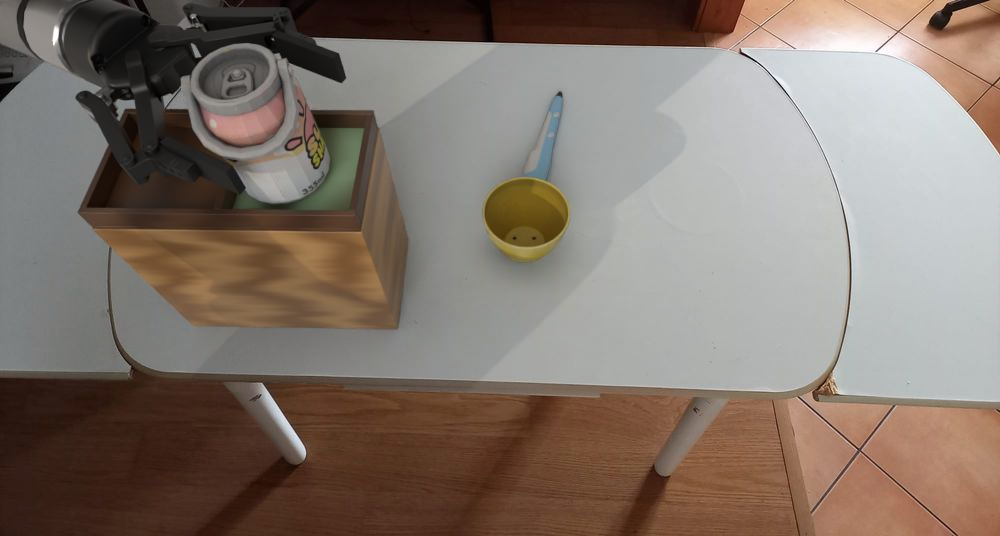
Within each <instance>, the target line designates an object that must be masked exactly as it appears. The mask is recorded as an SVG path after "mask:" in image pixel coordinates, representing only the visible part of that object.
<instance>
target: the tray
mask: <svg viewBox="0 0 1000 536" xmlns="http://www.w3.org/2000/svg"><path fill="white" fill-rule="evenodd" d="M310 110H311V113H312V115H313V117H314V120H315V122H316V124H317V127H318V129H319V131H320V133H321V136H322V138H323V140H324V143H325V145H326V147H327V150H328V153H329V156H330V164H329V172H328V174H327V176H326V178H325V180H324V182H323V183H322V184H321V185H320V186H319V187H318V188H317V189H316V190H315V191H314V192H313V193H312V194H311V195H309V196H307V197H306V198H304V199H302V200H299V201H296V202H293V203H290V204H277V205H273V204H268V203H263V202H260V201H258V200H257V199H255V198H253V197H252V196H250V195H248V193H247V192H246V190H244V191H243V192H242V193H241V194H240V195H239V194H237V193H235V192H233V191H231V190H228V189H226V188H224V187H222V186H220V185H218V184H216V183H213V182H211V181H209V180H207V179H205V178H203V177H201V176H200V177H199V178H198V179H197V180H196V181H195V182H187V181H185V180H182V179H180V178H178V177H176V176H174V175H173V176H171V177H168V178H165V177H163V176H162V175H161V174H160V173H159V171H155V172H153V173H152V174H150V178H149V180H148V181H147V182H146V183H144V184H140V185H138V184H136V183H135V182H134V181H133V180H132V179H131V177H130V176H129V175H128V174H127V173H126V171H125V170H124V169H123V168H122V167H121V165H120V164H119V163H118V162H117V160H116V158H115V156H114V154H113V152H112V150H111V148H110V146H109V145H108V144H107V146H106V149H105V151H104V153H103V155H102V157H101V160H100V162H99V164H98V166H97V168H96V170H95V173H94V175H93V177H92V179H91V182H90V184H89V186H88V187H87V190H86V192H85V195H84V196H83V199H82V201H81V204H80V206H79V208H78V210H77V214H78V215H79V216H80V217H81V218H82V219H83V220H84V221H85V222H86V223H87V224H88V225H89V226H90V227H91V228H92V229H93V228H94V229H176V230H260V231H344V232H361V228H362V222H363V216H364V210H365V204H366V198H367V192H368V186H369V180H370V174H371V168H372V162H373V156H374V150H375V144H376V138H377V132H378V128H379V126H378V125H379V124H378V122H377V118H376V115H375V114H376V113H375V111H374V109H310ZM164 119H165V125H166V131H167V136H169V137H171V138H173V139H175V140H178V141H180V142H182V143H184V144H186V145H189V146H191V147H193V148H195V149H197V150H200V151H202V152H204V153H206V154H209V155H211V156H213V157H215V158H217V159H220V160H222V161H224V162H226V161H225V160H224V158H222V157H220V156H219V155H217V154H216V153H214V152H212V151H211V150H209V149H208V148H206V147H204V145H203V144H202V142H201V141H200V139H199V138H198V136H197V135H196V134H195V132H194V131H193V128H192V124H191V119H190V115H189V110H188V108H165V113H164ZM118 120H119V122H120V123H121V124H122V126H123V128H124V129H125V131H126V133H127V135H128V137H129V139H130V140H131V142H132V144H133V146H134V148H135V150H136V151H137V152H138V151H140V150H141V144H140V137H139V130H138V122H137V115H136V108H124V110H123V112H122V114H121V116H120V118H119V119H118Z"/></svg>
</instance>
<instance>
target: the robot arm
mask: <svg viewBox="0 0 1000 536" xmlns="http://www.w3.org/2000/svg"><path fill="white" fill-rule="evenodd" d="M181 10H182V12H183V13H184V15H185V16H184V17H183V18H182V20H180V22H179V23H178V24H171V23H170V24H169V23H168V24H167V23H166V24H164V23H161V22H159V21H157V20H156V19H155V18H153V17H151V16H150V15H149V14H147V13H145V12H143V11H140V10H139V9H136V8H133V7H131V6H128V5H125V4H123V3H121V2H119V1H116V0H0V45H1V46H3V47H7V48H9V49H12V50H15V51H17V52H19V53H22V54H24V55H26V56H29V57H31V58H34V59H36V60H38V61H41V62H42V63H46V64H47V65H50V66H53V67H55V68H57V69H59V70H61V71H64V72H66V73H68V74H70V75H73V76H75V77H78V78H80V79H82V80H84V81H85V82H87V83H90V84H92V85H94V86H97V87H99V88H100V89H99V90H97V91H96V92H95V93H93V92H92V91H90V90H81V91H79V92H78V93H77V94H75V96H74V97H75V100H76V102H77V103H78V104H79V105H80V106H81V108H82V109H83V110H84V111H85V112H86V114H87V115H88V116H89V117H90V119H92V121H93V122H94V123H95V124H97V125H98V127H99V129H100V131H101V133H102V135H103V137H104V139H105V141H106V143H107V146H108V145H109V146H110V148H111V150H112V152H113V154H114V156H115V158H116V160H117V162H118V163H119V164H120V165H121V167H122V168H123V169H124V170H125V171H126V173H127V174H128V175H129V176H130V177H131V179H132V180H133V181H134V182H135V183H136V184H138V185H140V184H144V183H146V182H147V181H148V180H149V178H150V174H152V173H153V172H155V171H159V173H160V174H161V175H162V176H163V177H165V178H168V177H171V176H173V175H174V176H176V177H178V178H180V179H182V180H185V181H187V182H195V181H196V180H197V179H198V178H199V177H200V176H201V177H203V178H205V179H207V180H209V181H211V182H213V183H216V184H218V185H220V186H222V187H224V188H226V189H228V190H231V191H233V192H235V193H237V194H239V195H240V194H241V193H242V192H243V191H244V190H245V189H246V187H245V185H244V184H243V182H242V180H241V179H240V177H239V175H238V174H237V172H236V170H235V169H234V167H233V165H231V164H228V163H226V162H224V161H222V160H220V159H217V158H215V157H213V156H211V155H209V154H206V153H204V152H202V151H200V150H197V149H195V148H193V147H191V146H189V145H186V144H184V143H182V142H180V141H178V140H175V139H173V138H171V137H169V136H167V131H166V125H165V119H164V113H165V109H166V107H165V101H164V97H165V96H168V95H174V94H175V93H177V91H179V89H181V87H180V86H181V77H182V76H188V75H192V71H193V70H194V69H195V67H196V66H197V64H198V63H199V62H200V61H201V60H202V59H204V58H205V57H206V56H207V55H208V54H210V53H212V52H214V51H216V50H218V49H220V48H222V47H226V46H229V45H233V44H243V43H250V44H256V45H261V46H263V47H265V48H267V49H269V50H270V51H271V52H272V53H273V54H274V55H279V57H280V59H284V58H287V60H288V62H289V65H293V66H295V67H298V68H300V69H303V70H306V71H307V72H311V73H314V74H316V75H318V76H321V77H324V78H325V79H328V80H331V81H333V82H336V83H339V84H343V83H344V82H345V81H346V80H347V75H346V72H345V71H346V70H345V69H344V65H343V61H342V58H341V55H340V53H339V52H336V51H334V50H331V49H330V48H327V47H324V46H322V45H321V46H320V45H318V44H317V41H316V40H315V39H314V37H312V36H309V35H306V34H303V33H301V32H298V30H297V27H296V24H295V21H294V19H293V16H292V13H291V10H290V9H289V8H288V7H283V6H282V7H281V6H280V7H279V6H276V7H275V6H269V7H266V6H265V7H263V6H262V7H259V6H257V7H255V6H251V7H248V6H247V7H246V6H244V7H243V6H242V7H241V6H233V7H232V6H230V7H229V6H222V7H221V6H219V7H217V6H212V7H211V6H210V7H209V6H205V5H202V4H197V3H194V2H187V3H185V4H184V5H183V6H182V8H181ZM192 45H194V46H195V48H196V50H197V51H198V53H199V56H198V57H196V54H195V52H194V48H193V46H192ZM118 100H120V101H125V102H126V101H134V107H135V108H134V109H136V115H137V122H138V130H139V137H140V144H141V150H140V151H138V152H137V151H136V150H135V148H134V146H133V144H132V142H131V140H130V139H129V137H128V135H127V133H126V131H125V129H124V128H123V126H122V124H121V123H120V122H119V120H120V119H118V118H119V116H120V115H119V112H118V110H119V106H118V105H117V101H118Z"/></svg>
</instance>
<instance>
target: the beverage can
mask: <svg viewBox="0 0 1000 536" xmlns="http://www.w3.org/2000/svg"><path fill="white" fill-rule="evenodd" d="M294 73H295V72H294V69H293V66H292V64H290V63H289V62H288V60H287V58H284V59H281V58H279V59H278V58H277V56H276V54H273V53H272V52H271V51H270V50H269V49H267V48H265V47H263V46H261V45H256V44H250V43H243V44H233V45H229V46H226V47H222V48H220V49H218V50H216V51H214V52H212V53H210V54H208V55H207V56H206V57H205V58H204V59H202V60H201V61H200V62H199V63H198V64H197V66H196V67H195V69H194V70H193V71H192V75H188V76H182V77H181V86H180V92H181V93H182V94H183V95H184V97H185V100H186V107H187V109H188V110H189V115H190V119H191V124H192V128H193V131H194V132H195V134H196V135H197V136H198V138H199V139H200V141H201V142H202V144H203V145H204V147H206V148H208V149H209V150H211V151H212V152H214V153H216V154H217V155H219V156H220V157H222V158H224V160H225V161H226V163H228V164H231V165H233V167H234V169H235V170H236V172H237V174H238V175H239V177H240V179H241V180H242V182H243V184H244V185H245V187H246V189H245V190H246V192H247V193H248V195H250V196H252V197H253V198H255V199H257V200H258V201H260V202H263V203H268V204H273V205H277V204H290V203H293V202H296V201H299V200H302V199H304V198H306V197H307V196H309V195H311V194H312V193H313V192H314V191H315V190H316V189H317V188H318V187H319V186H320V185H321V184H322V183H323V182H324V180H325V178H326V176H327V174H328V172H329V164H330V156H329V153H328V150H327V147H326V145H325V143H324V140H323V138H322V136H321V133H320V131H319V129H318V127H317V124H316V122H315V120H314V117H313V115H312V113H311V110H312V109H311V108H310V106H309V103H308V101H307V99H306V97H305V94H304V92H303V90H302V87H301V86H300V83H299V81H298V79H297V77H296V76H295V75H294Z"/></svg>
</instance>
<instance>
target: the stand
mask: <svg viewBox="0 0 1000 536" xmlns="http://www.w3.org/2000/svg"><path fill="white" fill-rule="evenodd" d="M399 201H400V200H399V198H398V193H397V190H396V186H395V182H394V179H393V174H392V171H391V166H390V163H389V159H388V155H387V151H386V148H385V144H384V141H383V137H382V133H381V129H380V127H378V132H377V138H376V144H375V150H374V156H373V162H372V168H371V174H370V180H369V186H368V192H367V198H366V204H365V210H364V216H363V222H362V228H361V232H344V231H260V230H176V229H94V228H92V231H93V232H94V233H95V234H96V235H97V236H99V238H101V239H102V241H104V242H105V243H106V245H108V246H109V247H110V248H111V249H112V250H113V251H114V252H115V253H116V254H117V255H118V256H119V257H120V258H121V259H122V260H123V261H125V263H127V265H129V266H130V267H131V269H133V270H134V271H135V272H136V273H137V274H138V275H139V276H140V277H141V278H142V279H143V280H144V281H145V282H146V283H147V284H148V285H150V287H152V288H153V289H154V290H155V291H156V292H157V293H158V294H159V296H161V297H162V298H163V299H164V300H165V301H166V302H167V303H168V304H170V305H171V307H173V308H174V309H175V311H177V312H178V313H179V314H180V315H181V316H182V318H184V319H185V320H186V321H187V322H188V323H189V324H190V325H191V326H193V327H233V328H234V327H237V328H239V327H241V328H243V327H244V328H293V329H294V328H298V329H299V328H300V329H301V328H303V329H306V328H307V329H360V330H361V329H362V330H363V329H364V330H365V329H367V330H398V329H399V324H400V315H401V307H402V299H403V292H404V291H403V290H404V281H405V274H406V273H405V272H406V263H407V258H408V257H407V256H408V247H409V236H408V232H407V228H406V224H405V221H404V217H403V213H402V210H401V209H402V208H401V205H400V202H399Z"/></svg>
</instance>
